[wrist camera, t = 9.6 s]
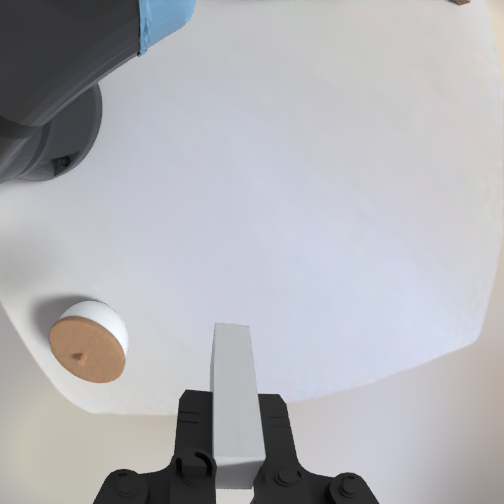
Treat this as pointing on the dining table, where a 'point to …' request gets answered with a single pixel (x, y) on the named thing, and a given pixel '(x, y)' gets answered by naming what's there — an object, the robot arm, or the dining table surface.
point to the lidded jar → (90, 341)
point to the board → (461, 1)
